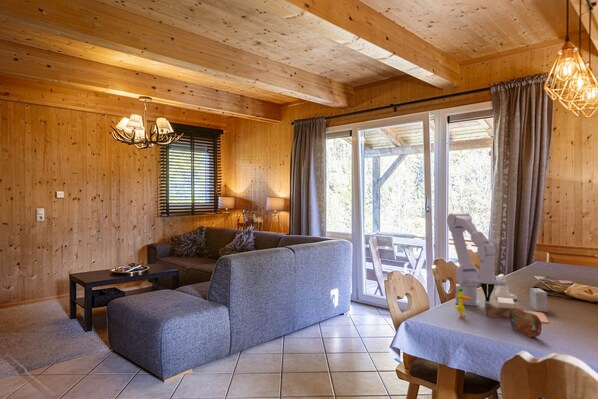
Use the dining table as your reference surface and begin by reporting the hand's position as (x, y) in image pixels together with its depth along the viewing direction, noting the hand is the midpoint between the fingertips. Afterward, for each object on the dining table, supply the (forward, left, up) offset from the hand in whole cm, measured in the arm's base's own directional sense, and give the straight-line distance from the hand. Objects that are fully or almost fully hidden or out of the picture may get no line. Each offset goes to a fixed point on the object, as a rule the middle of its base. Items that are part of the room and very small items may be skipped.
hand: (487, 300), depth 172 cm
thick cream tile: (+7, 0, -1) cm, 7 cm away
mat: (+18, 0, -5) cm, 18 cm away
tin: (+12, -23, -5) cm, 27 cm away
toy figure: (-10, -11, -5) cm, 16 cm away
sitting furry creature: (+8, +29, -5) cm, 31 cm away
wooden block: (+6, 0, -5) cm, 8 cm away
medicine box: (+21, +14, -5) cm, 26 cm away
